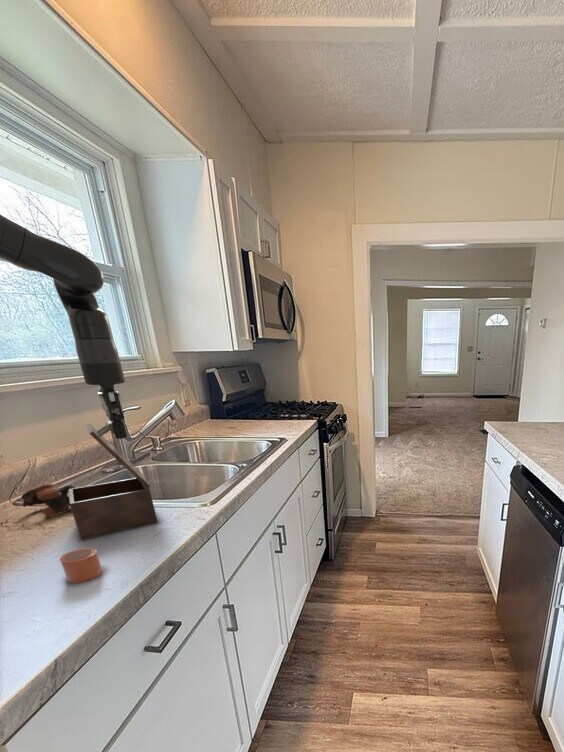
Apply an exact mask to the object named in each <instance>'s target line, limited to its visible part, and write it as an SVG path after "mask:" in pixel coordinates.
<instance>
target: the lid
mask: <svg viewBox="0 0 564 752" xmlns="http://www.w3.org/2000/svg"><path fill="white" fill-rule="evenodd" d="M104 424H105V425H104V426H102V427H101V428H99V429H98V430H97V429H96V428H95V427H94V426H93V425H92V424H91V423H90V422H89V423H88V424H86V428H87V431H88V434H89V435H90V436H91V437H92V438H93V439H94V440H95V441H97V443H98V444H100V445H101V446H102V447H103V449H105V450H106V451H107V452H108V453H109V454H110V455H111V456H112V457H113V458H115V460H117V461H118V462H119V463H120V464H121V465H122V466H123V467H124V468H125V469H126V470H127V471H128V472H130V474H132V476H133V477H134V478H137V479H138V480H139V481H140V482H141V483H142V484H143V485H144V486H145V487H147V488H149V489H150V488H151V485H150V484H149V482H148V480H147V479H146V477H145V476H144V474H143V473H142V472H141V471H140V470H139V469H138V468H137V467H136V466H135V465H134V464H133V463H132V462H130V461H129V460H128V459H127V458H126V457H125V456H124V455H123V454H122V453H121V452H120V451H119V450H118V449H117V448H116V447H115V446H114V445H113V444H112V443H111V442H110V441H108V440H107V439H106V437H104V435H106V434H107V433H108V432H112V431H114V429H113V426H112V422H111V421H110V420H109V419H108V420H106V421H105V423H104Z"/></svg>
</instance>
